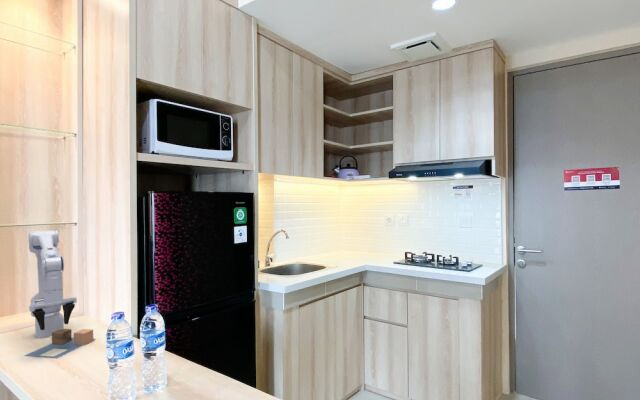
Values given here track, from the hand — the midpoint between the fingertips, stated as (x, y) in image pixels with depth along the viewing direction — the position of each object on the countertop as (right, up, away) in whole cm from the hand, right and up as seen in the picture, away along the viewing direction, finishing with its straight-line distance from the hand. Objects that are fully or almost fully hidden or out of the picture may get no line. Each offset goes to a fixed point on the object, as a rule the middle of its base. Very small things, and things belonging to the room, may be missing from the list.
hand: (54, 326), depth 138 cm
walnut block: (-3, -9, +9) cm, 13 cm away
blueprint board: (0, -10, +4) cm, 11 cm away
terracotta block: (+6, -9, +8) cm, 13 cm away
